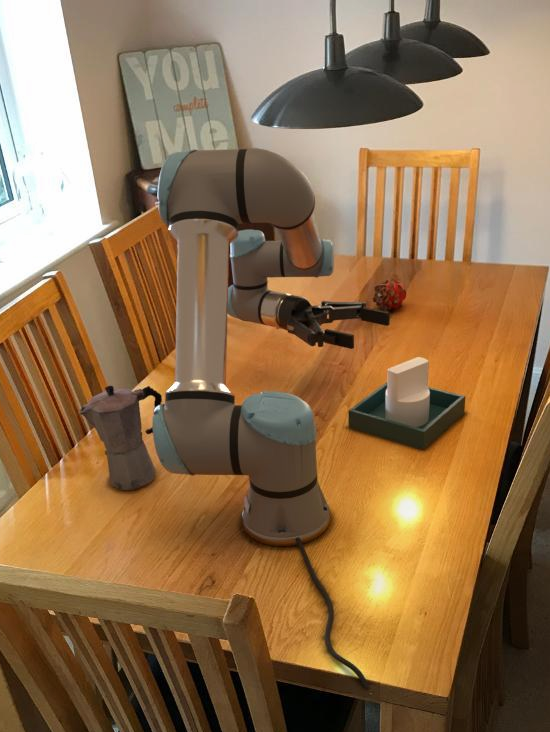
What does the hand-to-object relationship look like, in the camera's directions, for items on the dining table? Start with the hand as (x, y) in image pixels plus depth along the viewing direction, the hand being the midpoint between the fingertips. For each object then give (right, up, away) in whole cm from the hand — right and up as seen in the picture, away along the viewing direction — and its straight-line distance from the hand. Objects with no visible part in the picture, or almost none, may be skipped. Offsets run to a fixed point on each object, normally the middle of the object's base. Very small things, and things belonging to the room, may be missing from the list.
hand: (371, 330), depth 169 cm
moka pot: (-47, -30, -6) cm, 56 cm away
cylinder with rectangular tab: (+8, -17, +6) cm, 20 cm away
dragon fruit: (+11, +19, +58) cm, 62 cm away
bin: (+8, -18, +6) cm, 20 cm away
